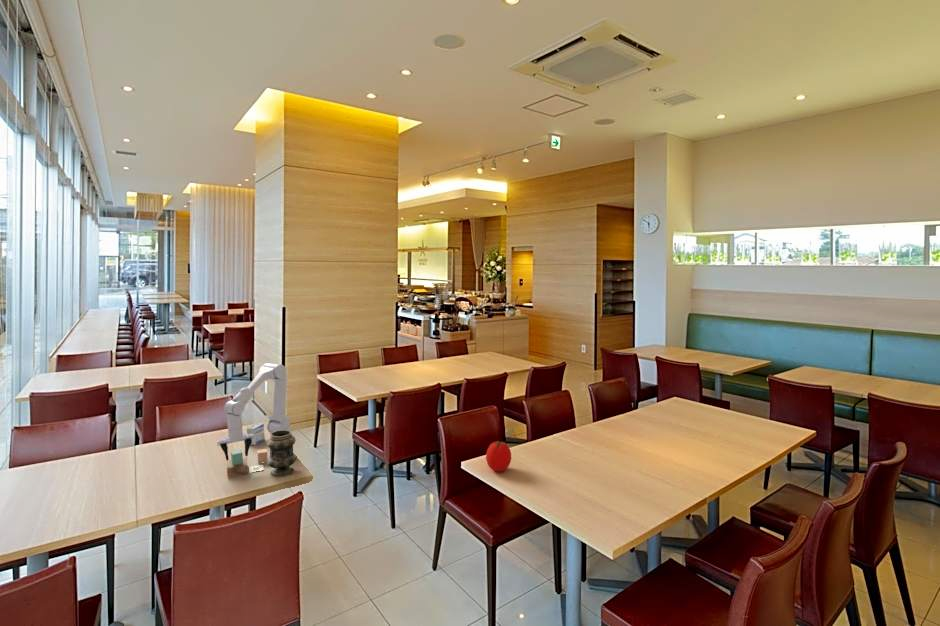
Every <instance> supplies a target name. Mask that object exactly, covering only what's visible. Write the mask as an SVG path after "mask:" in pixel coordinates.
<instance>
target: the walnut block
mask: <svg viewBox="0 0 940 626" xmlns="http://www.w3.org/2000/svg"><path fill="white" fill-rule="evenodd" d="M226 461H227V462H226V463H227V464H226V472H227V473H226V477H227V476H231V477H235V476H234V475H236V476H241V475H240V474H242V475H247V474H246V473H248V474H249V466H248V458H247V457H245V458H244V457H243V463H242V464H238V465H233V464H232V461H231V460H226Z"/></svg>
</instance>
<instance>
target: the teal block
mask: <svg viewBox="0 0 940 626" xmlns="http://www.w3.org/2000/svg"><path fill="white" fill-rule="evenodd" d="M243 456H244V455H243V451H242V449H237V450H236V449H235V450H232V451H230V457H231V459H230V461H232V464H233V465H238V464H242V463H243V458H244V457H243Z"/></svg>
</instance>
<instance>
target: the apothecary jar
mask: <svg viewBox="0 0 940 626" xmlns="http://www.w3.org/2000/svg"><path fill="white" fill-rule="evenodd" d="M295 443H296V437H295V436H294V435H293V434H292V431H291V430H290V431H289V430H277V431H274V432H272V433H271V434H270V436H269V438H268V439H267V441H266V446H267V447H268V448H269V456H268V457H267V458H268V459H267V462H266V463H267V466H268V467H270V468H272V470H271V471H270V474H269V475H270V476H272V477H275V478H281V477H287V476H290V475H291V474H293V473H294V472H295V468H294V467H293V465H294V464H295V463H296V461H297V456H296V454H295V453H294V444H295Z"/></svg>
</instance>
